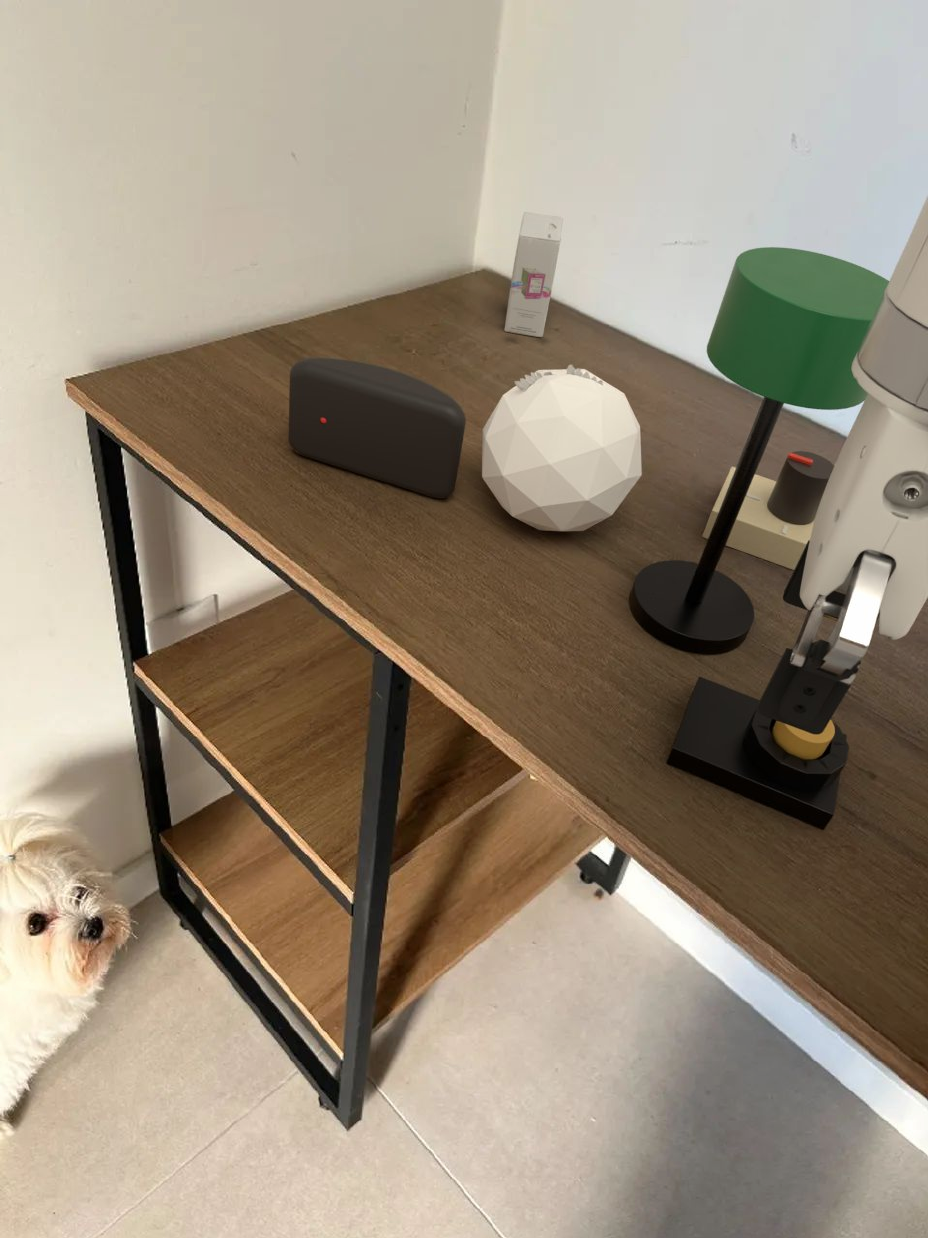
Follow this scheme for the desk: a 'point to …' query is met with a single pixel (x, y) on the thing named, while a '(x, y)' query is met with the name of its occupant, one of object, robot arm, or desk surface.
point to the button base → (755, 755)
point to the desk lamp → (762, 416)
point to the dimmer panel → (762, 526)
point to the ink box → (533, 274)
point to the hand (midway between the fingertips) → (799, 660)
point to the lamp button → (802, 740)
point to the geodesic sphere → (561, 450)
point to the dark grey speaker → (376, 424)
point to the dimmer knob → (800, 487)
